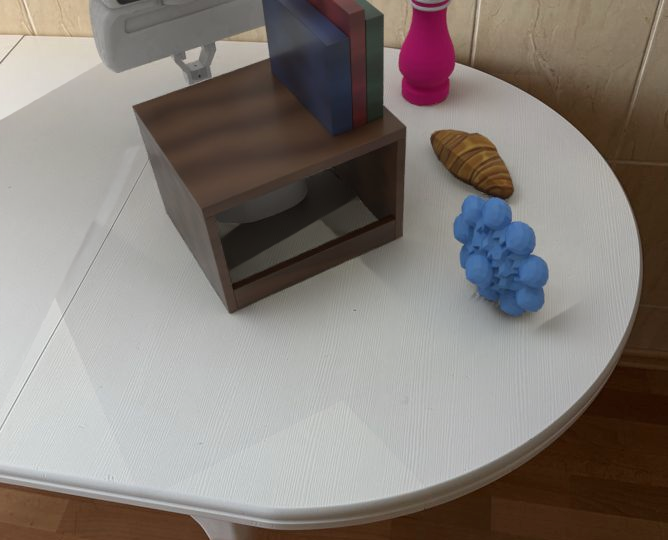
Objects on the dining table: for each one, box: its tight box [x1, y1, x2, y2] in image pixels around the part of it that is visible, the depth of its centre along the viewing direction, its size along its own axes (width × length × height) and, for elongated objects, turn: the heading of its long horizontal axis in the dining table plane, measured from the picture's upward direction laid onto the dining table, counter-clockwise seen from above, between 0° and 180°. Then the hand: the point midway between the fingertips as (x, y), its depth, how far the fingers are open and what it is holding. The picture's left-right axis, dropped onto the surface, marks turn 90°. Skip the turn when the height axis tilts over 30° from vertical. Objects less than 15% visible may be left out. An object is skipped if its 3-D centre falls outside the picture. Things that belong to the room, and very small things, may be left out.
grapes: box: [452, 194, 550, 317], centre depth 66 cm, size 12×7×12 cm, turn 38°
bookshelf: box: [131, 0, 408, 314], centre depth 69 cm, size 18×21×25 cm
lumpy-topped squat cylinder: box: [214, 178, 309, 224], centre depth 80 cm, size 10×13×9 cm
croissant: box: [429, 128, 515, 201], centre depth 81 cm, size 14×7×5 cm, turn 34°
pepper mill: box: [397, 0, 456, 107], centre depth 85 cm, size 7×7×20 cm
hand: (198, 79), depth 83 cm, fingers closed
